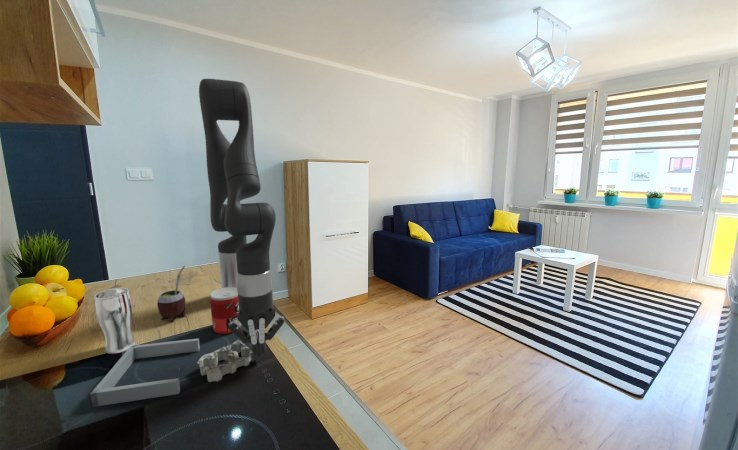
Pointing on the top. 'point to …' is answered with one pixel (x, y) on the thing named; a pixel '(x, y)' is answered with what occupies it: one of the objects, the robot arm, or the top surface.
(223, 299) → the canned food
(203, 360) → the egg carton
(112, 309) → the beer glass
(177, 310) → the mate gourd
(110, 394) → the grey u-shaped frame
